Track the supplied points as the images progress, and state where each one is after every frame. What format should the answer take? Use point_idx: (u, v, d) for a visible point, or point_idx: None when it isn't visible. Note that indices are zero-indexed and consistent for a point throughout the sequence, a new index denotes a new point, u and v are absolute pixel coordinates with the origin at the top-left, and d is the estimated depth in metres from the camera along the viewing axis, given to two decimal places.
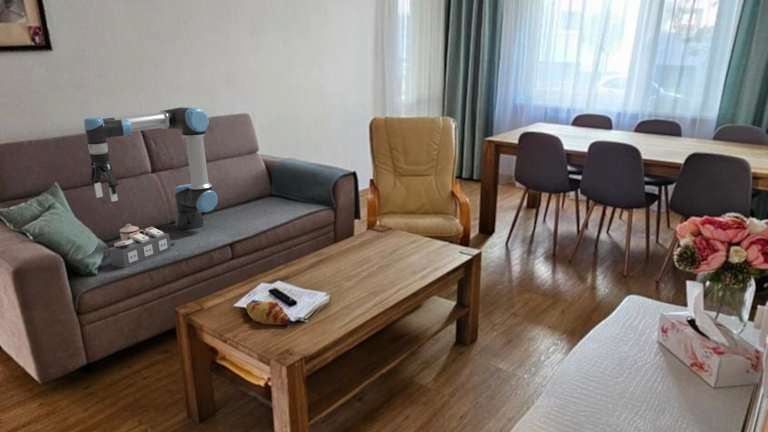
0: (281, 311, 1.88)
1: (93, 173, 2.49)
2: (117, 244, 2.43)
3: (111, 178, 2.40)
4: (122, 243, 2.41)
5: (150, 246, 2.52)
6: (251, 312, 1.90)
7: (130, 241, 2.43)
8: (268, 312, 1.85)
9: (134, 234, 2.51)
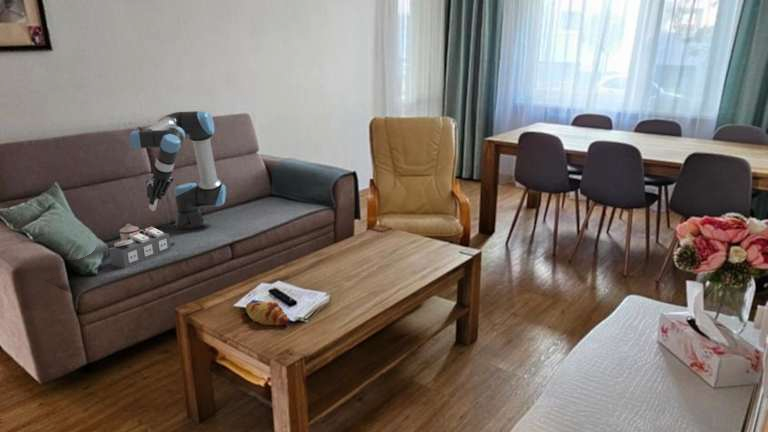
0: (280, 312, 1.87)
1: None
2: (117, 244, 2.43)
3: (147, 192, 2.38)
4: (122, 243, 2.41)
5: (150, 246, 2.52)
6: (250, 312, 1.89)
7: (130, 241, 2.43)
8: (268, 313, 1.85)
9: (134, 234, 2.51)
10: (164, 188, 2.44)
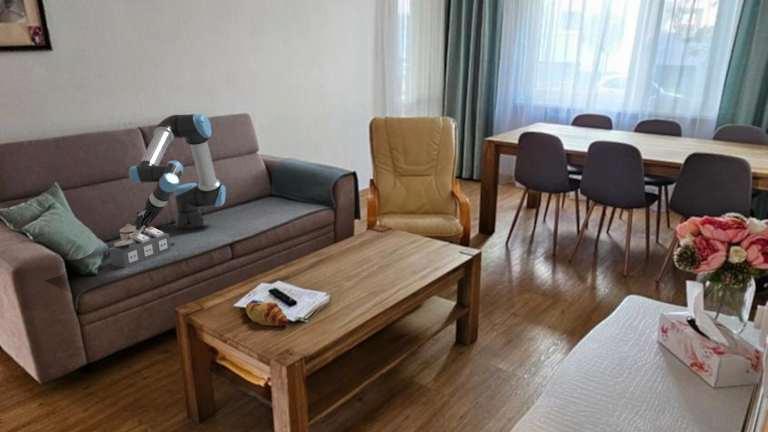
0: (280, 312, 1.87)
1: None
2: (117, 244, 2.43)
3: (136, 220, 2.43)
4: (122, 243, 2.41)
5: (150, 246, 2.52)
6: (250, 313, 1.89)
7: (130, 241, 2.43)
8: (267, 313, 1.84)
9: (134, 234, 2.51)
10: (152, 216, 2.49)
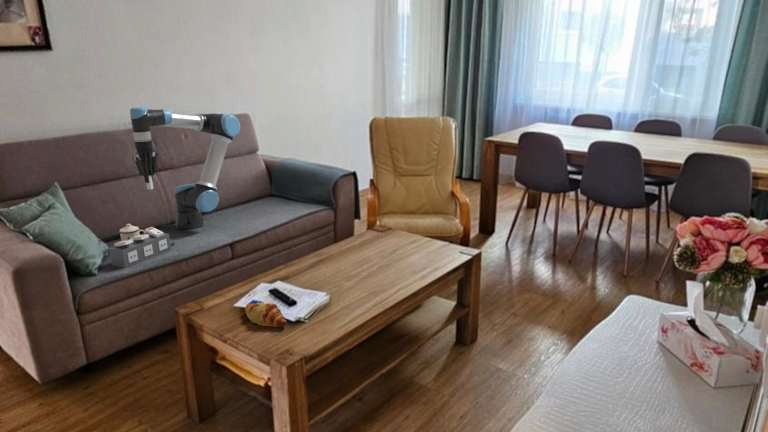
0: (278, 313, 1.86)
1: (151, 163, 2.64)
2: (117, 244, 2.43)
3: (138, 169, 2.58)
4: (122, 243, 2.41)
5: (150, 246, 2.52)
6: (249, 313, 1.88)
7: (130, 241, 2.43)
8: (265, 314, 1.84)
9: (134, 236, 2.52)
10: (153, 164, 2.63)
